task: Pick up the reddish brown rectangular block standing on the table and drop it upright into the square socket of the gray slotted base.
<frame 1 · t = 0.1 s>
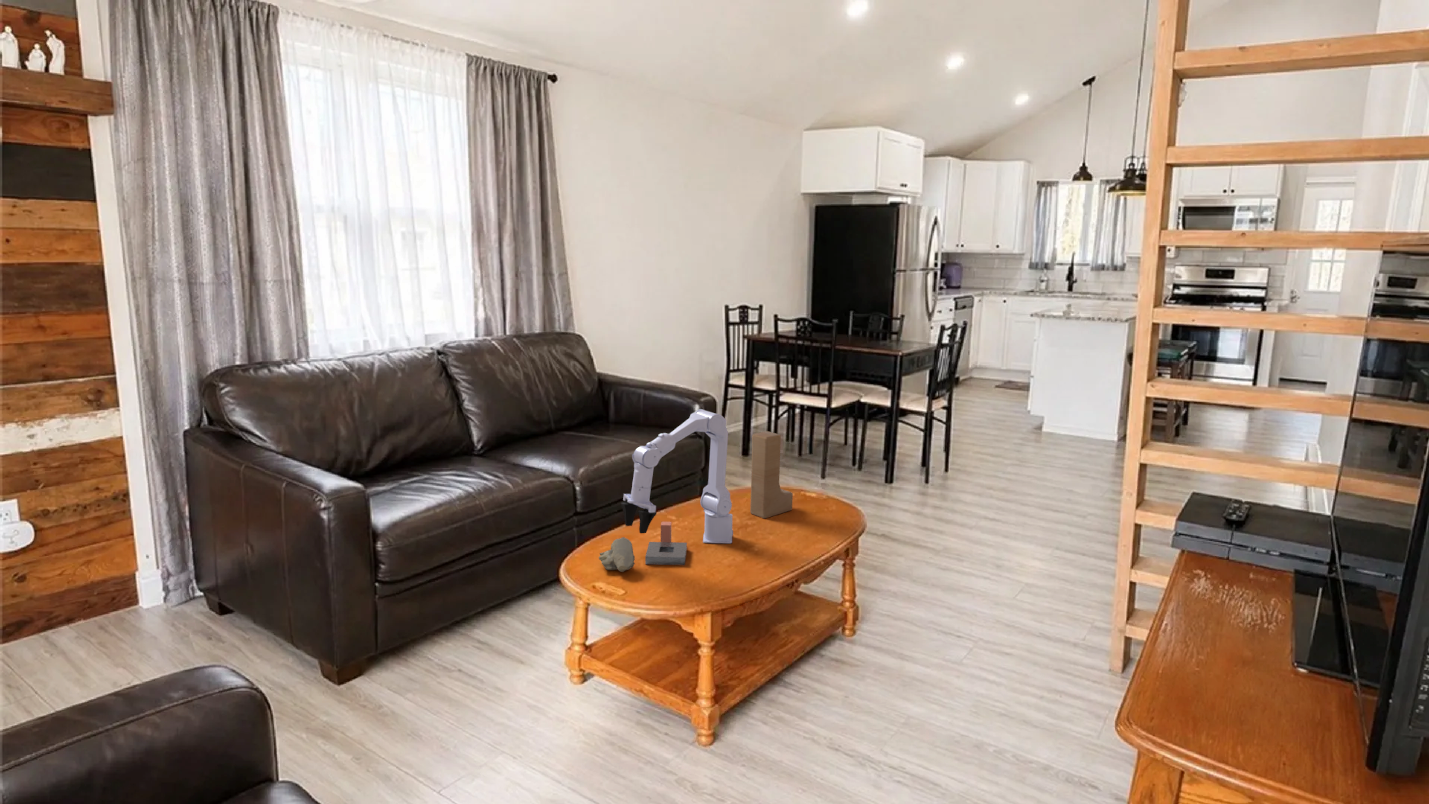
hand: (635, 529, 248), 11 cm above the table, fingers open, 7 cm apart
decorative block: (771, 512, 297), on the table
gray slotted base: (666, 557, 255), on the table
fossil: (617, 569, 245), on the table
reddish brown rectangular block: (666, 543, 265), on the table
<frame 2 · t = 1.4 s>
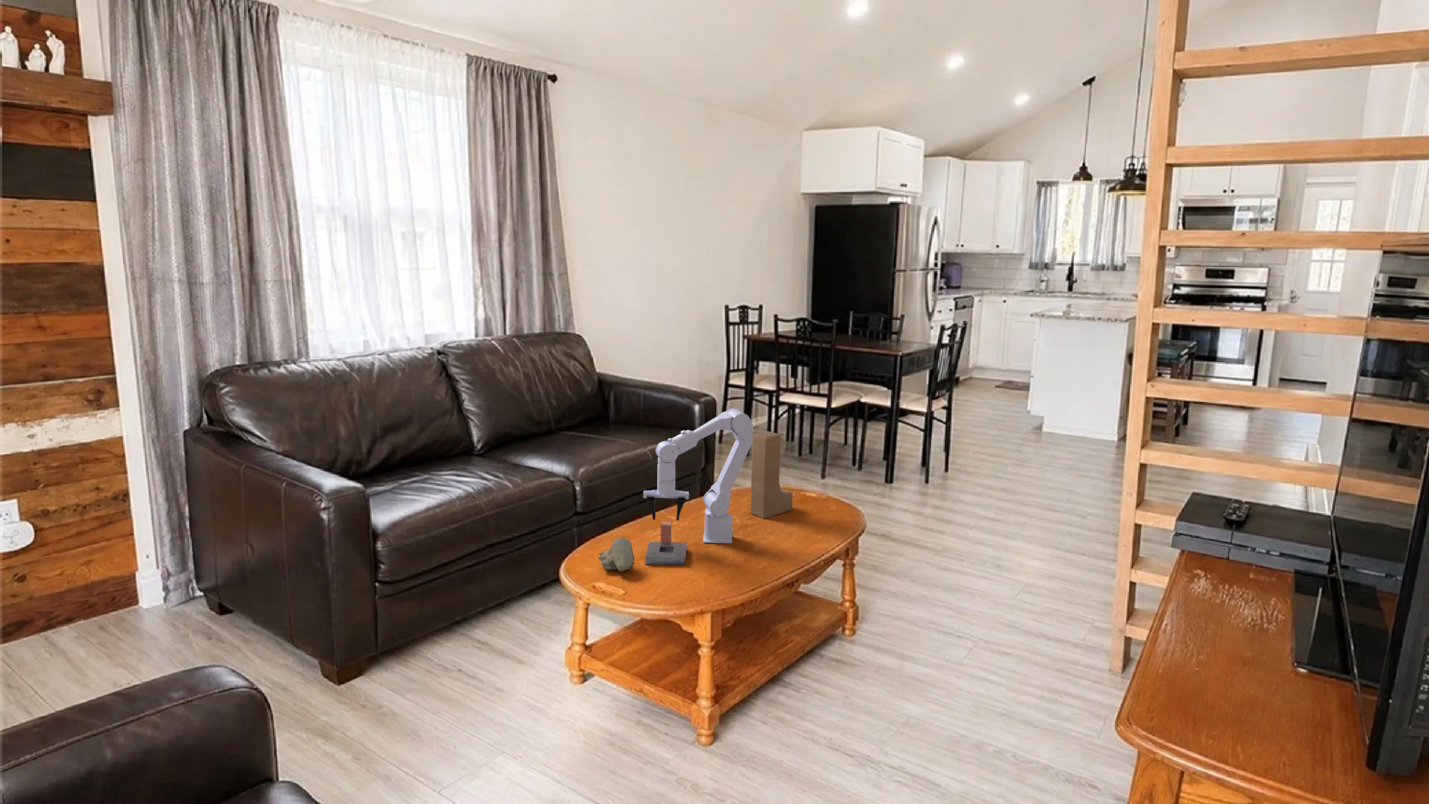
hand: (666, 519, 264), 8 cm above the table, fingers open, 7 cm apart
nothing on the table moved.
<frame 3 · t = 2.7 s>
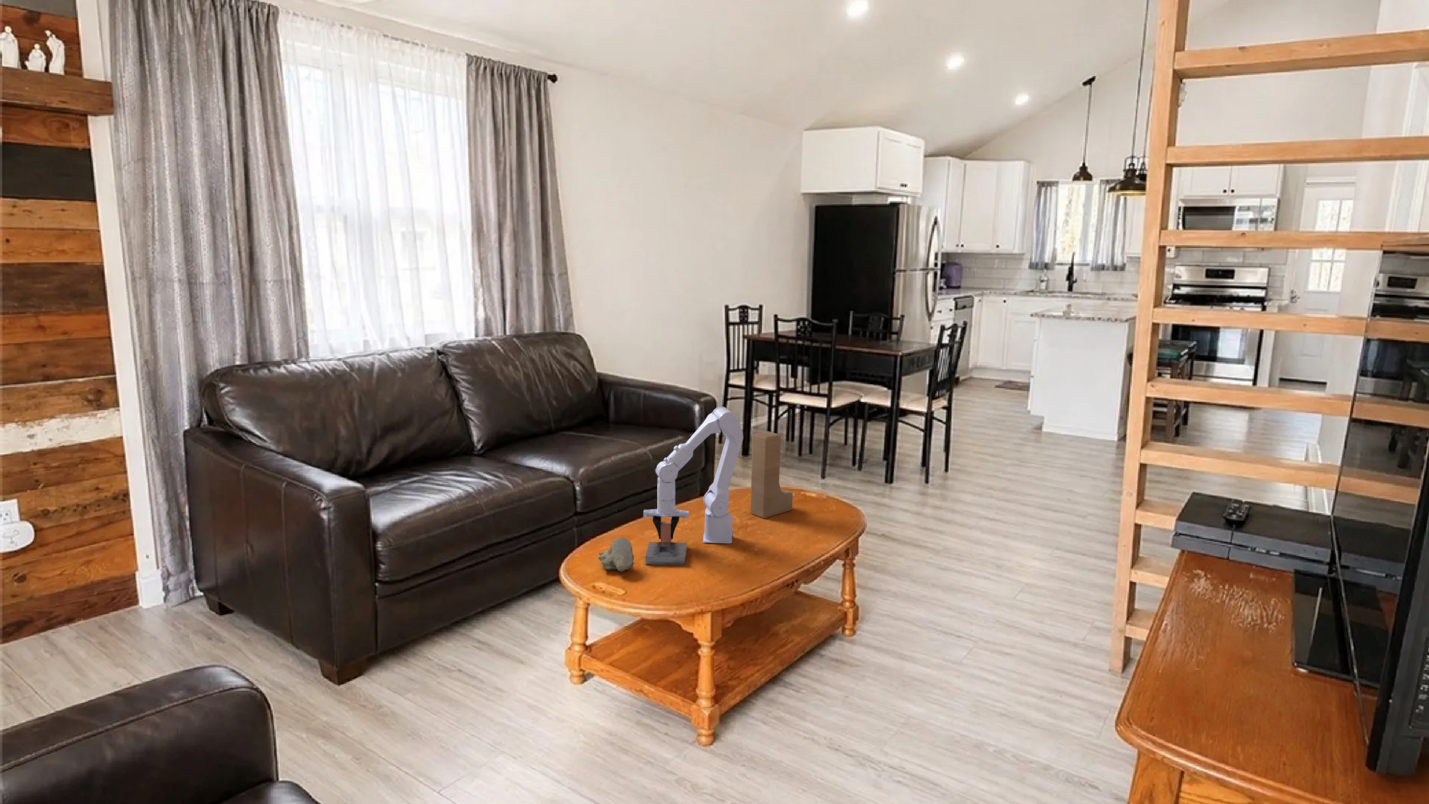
hand: (666, 538, 265), 2 cm above the table, fingers closed on reddish brown rectangular block, 3 cm apart
reddish brown rectangular block: (666, 543, 265), on the table, touching gripper
everything else where it was.
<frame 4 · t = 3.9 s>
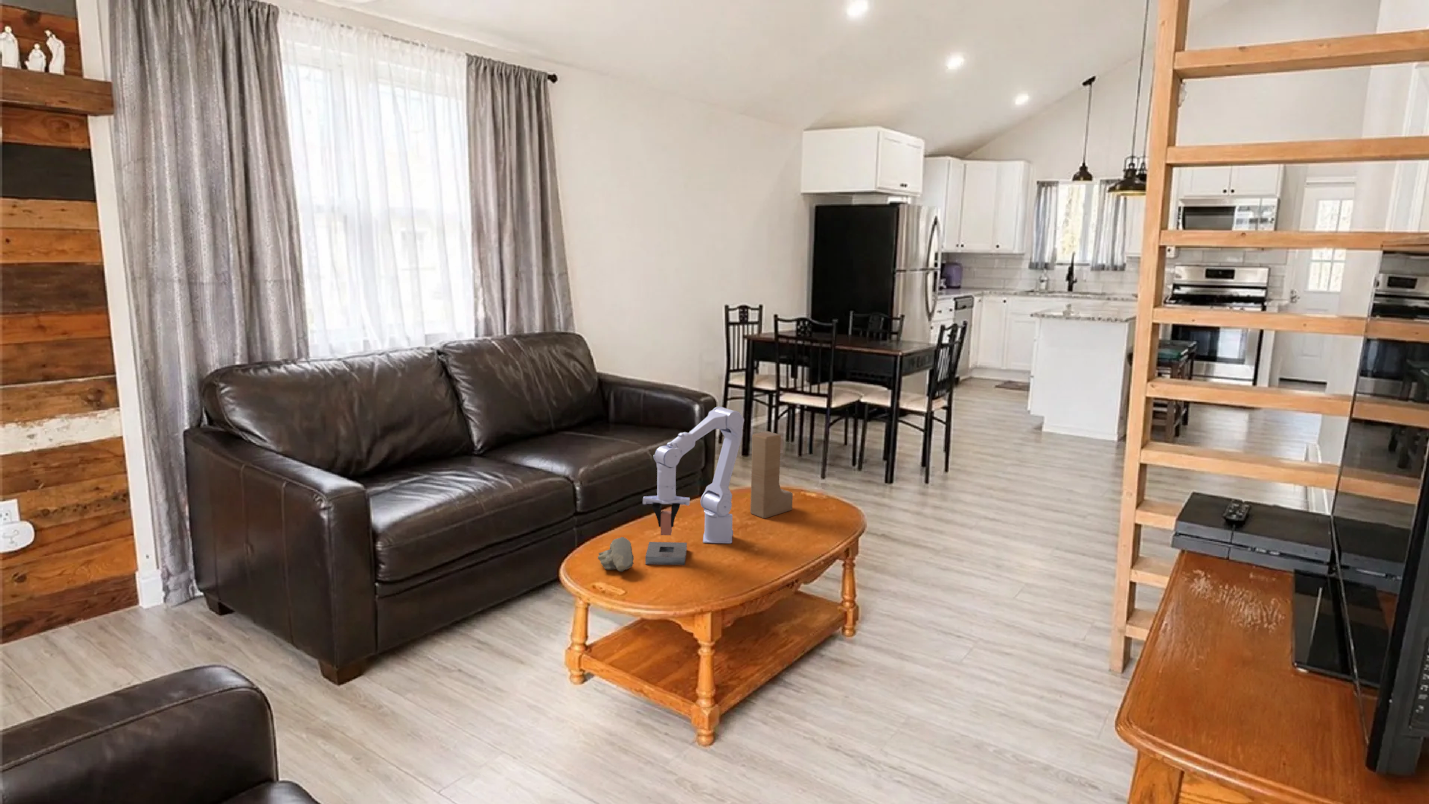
hand: (666, 525, 256), 9 cm above the table, fingers closed on reddish brown rectangular block, 3 cm apart
reddish brown rectangular block: (666, 533, 257), point 6 cm above the table, touching gripper
everything else where it was.
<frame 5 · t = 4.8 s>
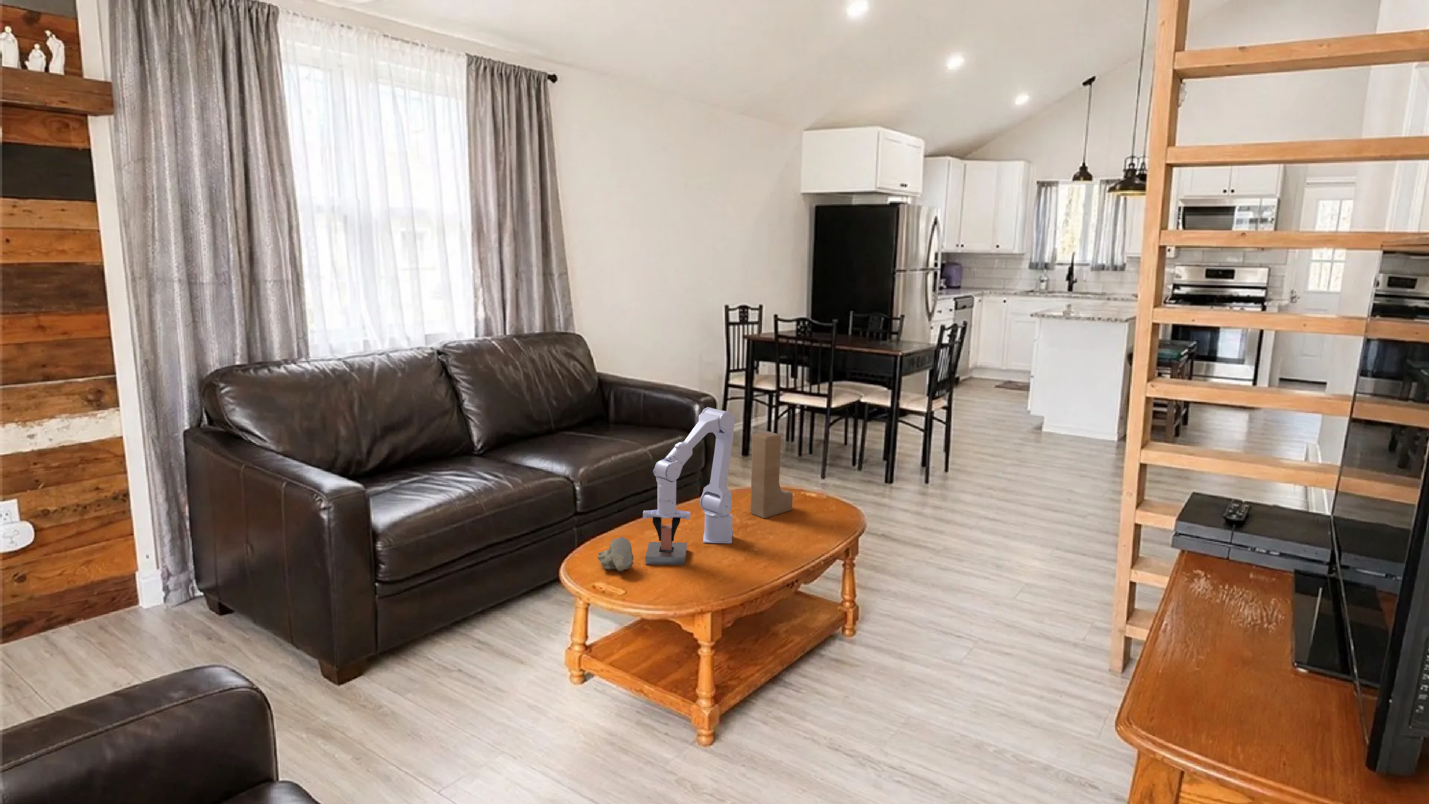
hand: (666, 540, 253), 6 cm above the table, fingers closed on reddish brown rectangular block, 3 cm apart
reddish brown rectangular block: (666, 547, 254), point 3 cm above the table, touching gripper
everything else where it was.
when the fingers open (3 cm above the table, at t = 5.5 s): reddish brown rectangular block stays where it is, resting in gray slotted base.
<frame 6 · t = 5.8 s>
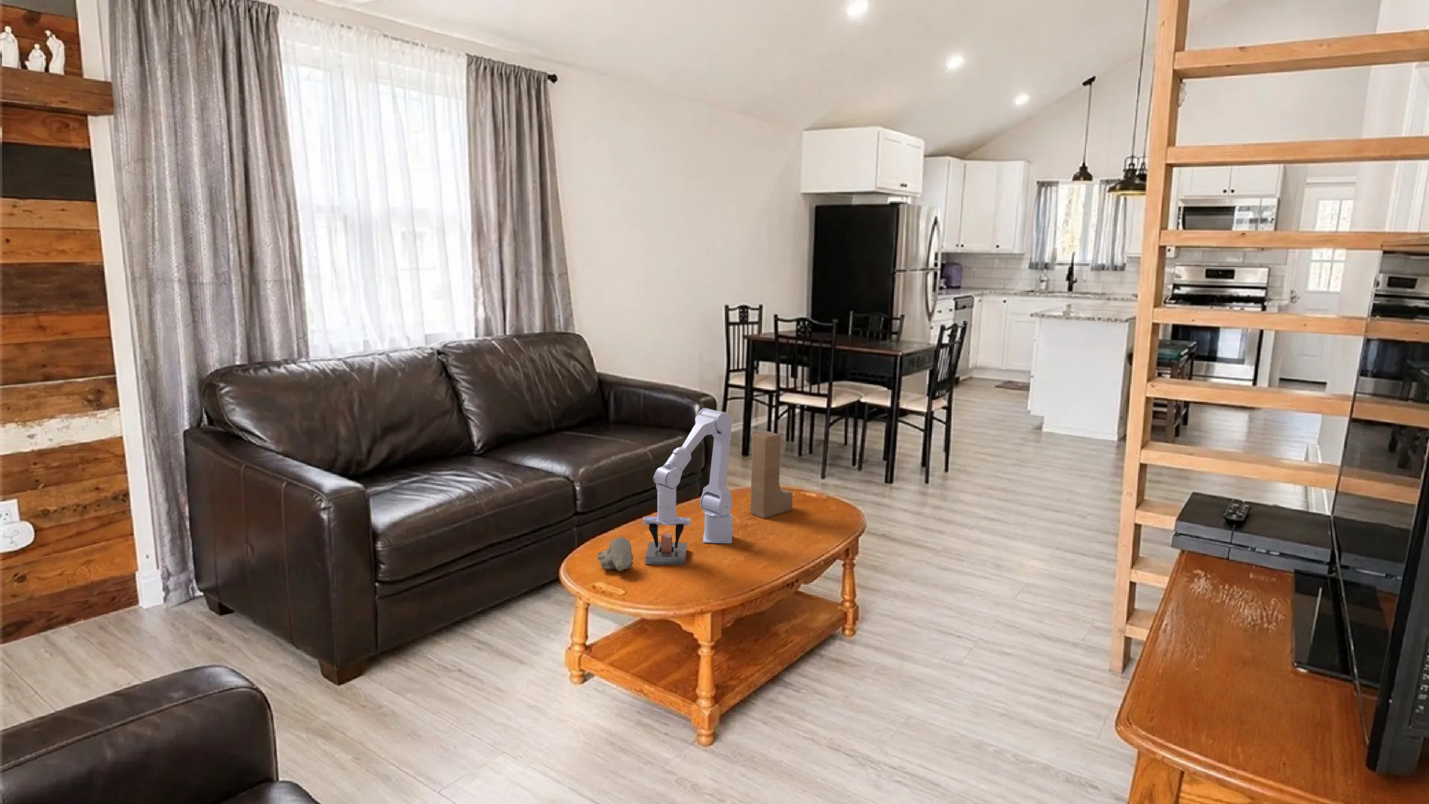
hand: (666, 546, 254), 3 cm above the table, fingers open, 5 cm apart
reddish brown rectangular block: (666, 556, 255), resting in gray slotted base
everything else where it was.
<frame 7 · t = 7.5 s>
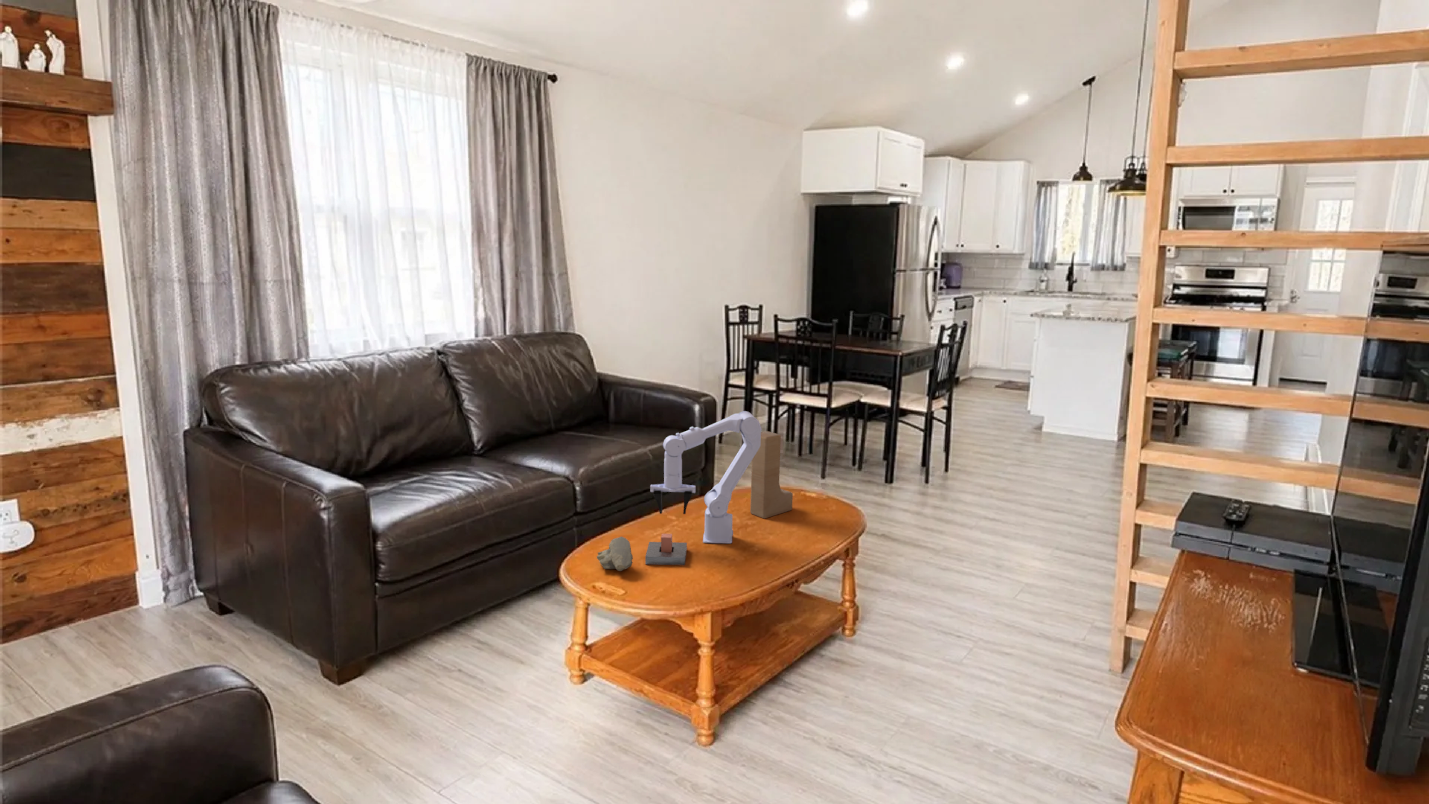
hand: (672, 512, 265), 10 cm above the table, fingers open, 7 cm apart
nothing on the table moved.
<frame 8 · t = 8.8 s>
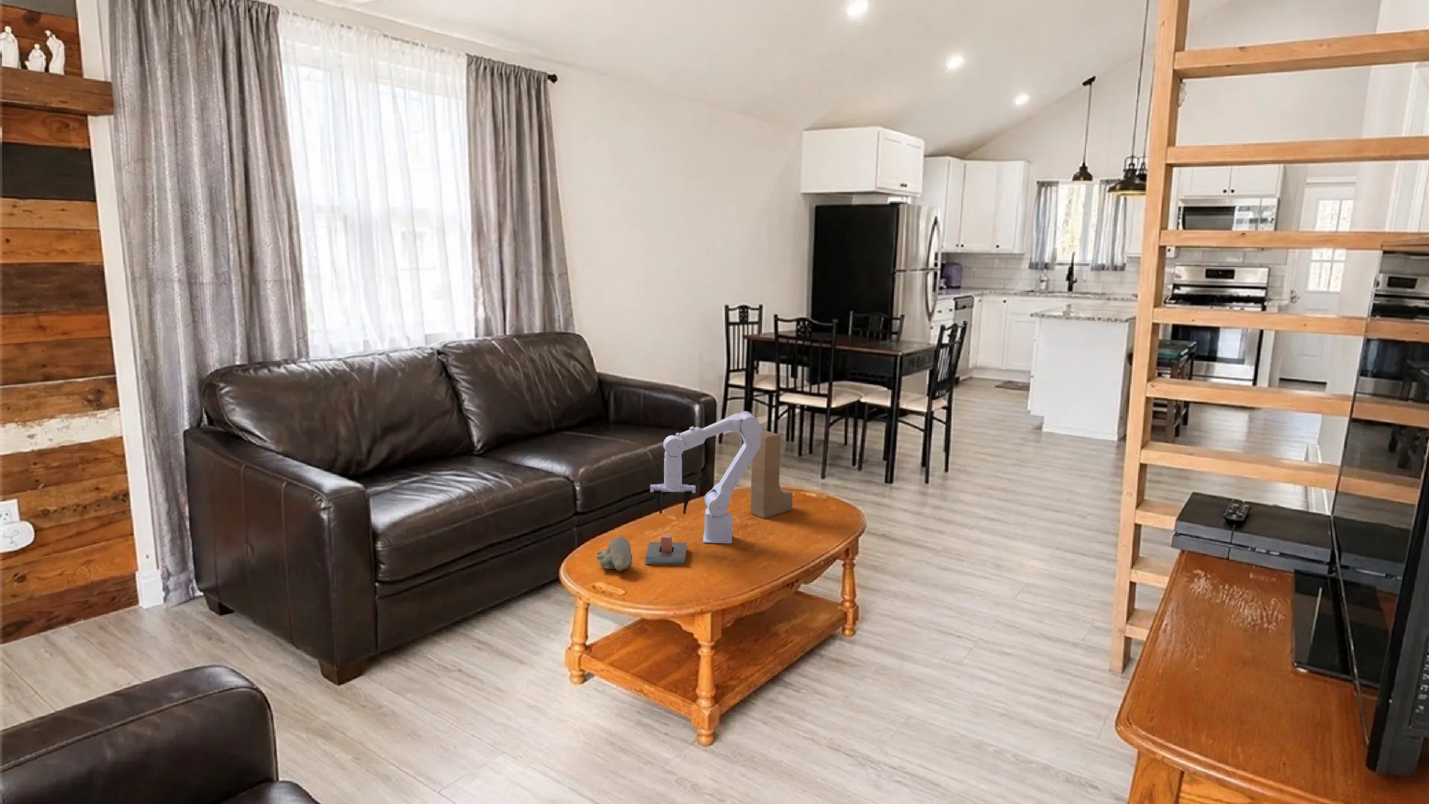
hand: (672, 512, 265), 10 cm above the table, fingers open, 7 cm apart
nothing on the table moved.
at the end: reddish brown rectangular block 0.3 cm off-centre on the gray slotted base, point 0.0 cm above the gray slotted base's base; reddish brown rectangular block tilted 0°; the gripper is holding nothing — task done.
